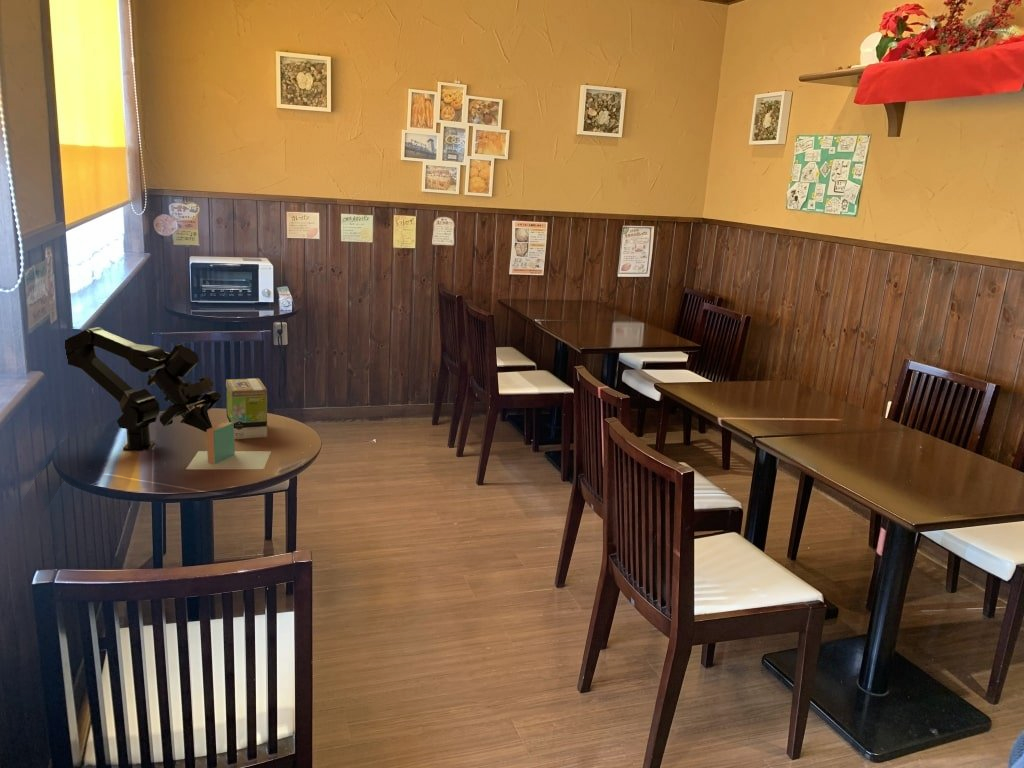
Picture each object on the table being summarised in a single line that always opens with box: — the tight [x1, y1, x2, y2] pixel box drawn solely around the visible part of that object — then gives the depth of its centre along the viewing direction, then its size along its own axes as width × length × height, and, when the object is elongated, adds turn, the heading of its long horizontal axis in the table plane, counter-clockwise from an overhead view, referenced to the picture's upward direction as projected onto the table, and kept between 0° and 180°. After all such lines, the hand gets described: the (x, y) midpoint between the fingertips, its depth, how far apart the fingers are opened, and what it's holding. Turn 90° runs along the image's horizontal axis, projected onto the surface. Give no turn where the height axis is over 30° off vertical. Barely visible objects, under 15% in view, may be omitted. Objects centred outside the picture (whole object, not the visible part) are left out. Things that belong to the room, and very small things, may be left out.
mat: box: [185, 450, 272, 470], centre depth 204 cm, size 14×19×1 cm
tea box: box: [225, 377, 268, 440], centre depth 227 cm, size 15×10×15 cm, turn 26°
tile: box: [206, 421, 236, 464], centre depth 204 cm, size 2×8×9 cm, turn 164°
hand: (211, 432), depth 204 cm, fingers closed
